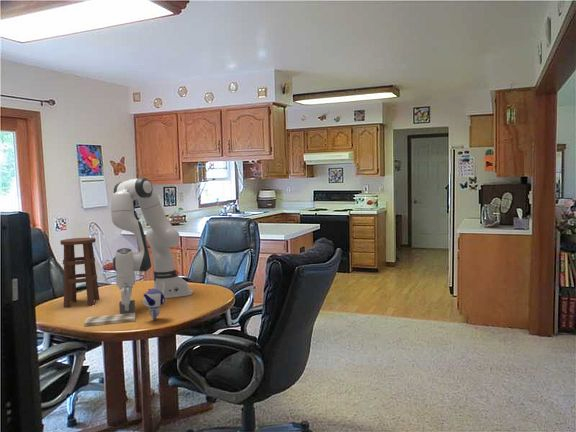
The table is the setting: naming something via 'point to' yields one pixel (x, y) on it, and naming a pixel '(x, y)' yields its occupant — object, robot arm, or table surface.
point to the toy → (153, 301)
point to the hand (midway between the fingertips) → (127, 309)
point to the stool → (71, 276)
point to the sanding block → (131, 307)
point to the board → (110, 319)
